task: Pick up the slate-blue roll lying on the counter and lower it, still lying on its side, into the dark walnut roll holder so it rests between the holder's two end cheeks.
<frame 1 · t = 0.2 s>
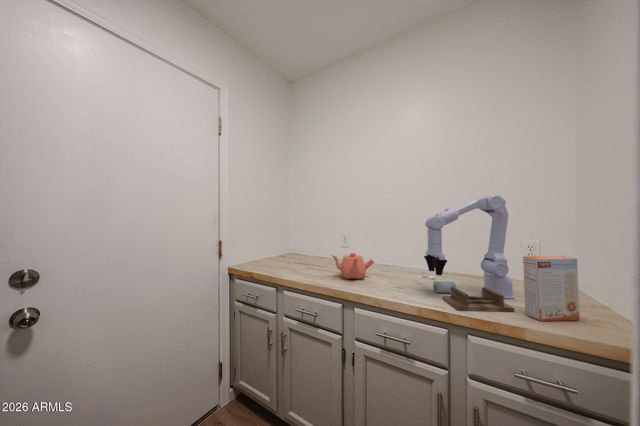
hand: (435, 273, 104), 9 cm above the worktop, tool pointing down, fingers open, 7 cm apart
roll: (444, 292, 106), on the worktop
cracker box: (551, 318, 79), on the worktop
teapot: (352, 277, 132), on the worktop
teacup and saucer: (426, 280, 128), on the worktop
roll holder: (475, 305, 90), on the worktop
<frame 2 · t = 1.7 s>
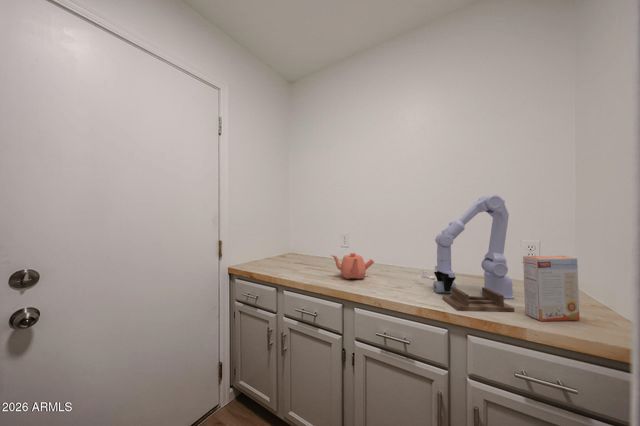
hand: (444, 289, 106), 1 cm above the worktop, tool pointing down, fingers closed on roll, 5 cm apart
roll: (444, 292, 106), on the worktop, touching gripper
everything else where it was.
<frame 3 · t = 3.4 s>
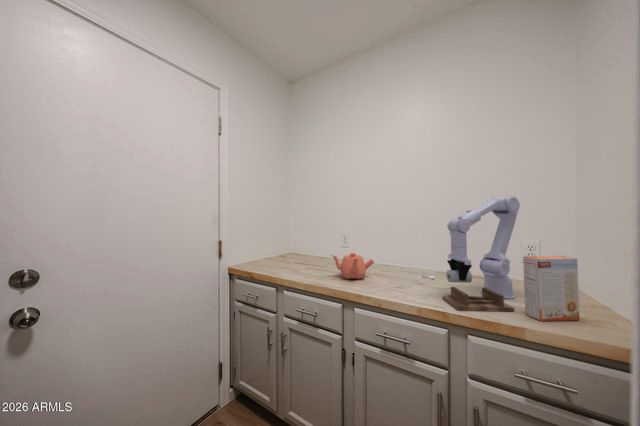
hand: (459, 278, 98), 8 cm above the worktop, tool pointing down, fingers closed on roll, 5 cm apart
roll: (458, 282, 98), point 7 cm above the worktop, touching gripper
everything else where it was.
when the fingers open (5 cm above the worktop, at t = 5.0 s): roll drops 2 cm, resting on roll holder.
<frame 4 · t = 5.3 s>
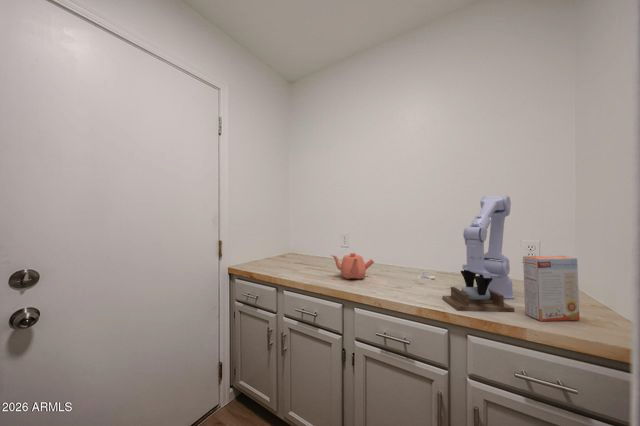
hand: (475, 291, 90), 5 cm above the worktop, tool pointing down, fingers open, 7 cm apart
roll: (475, 300, 90), point 2 cm above the worktop, touching roll holder
everything else where it was.
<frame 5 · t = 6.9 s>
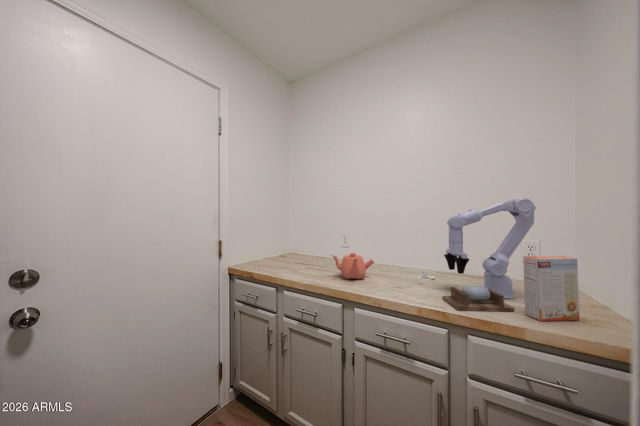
hand: (456, 271, 107), 9 cm above the worktop, tool pointing down, fingers open, 7 cm apart
nothing on the worktop moved.
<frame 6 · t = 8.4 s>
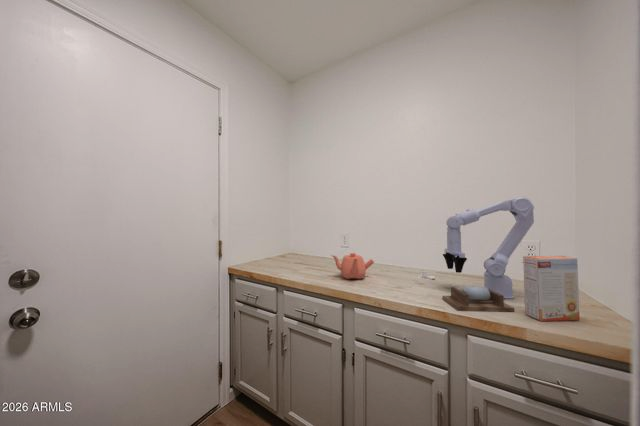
hand: (454, 270, 108), 9 cm above the worktop, tool pointing down, fingers open, 7 cm apart
nothing on the worktop moved.
at the end: roll 0.1 cm off-centre on the roll holder, point 2.0 cm above the roll holder's base; the gripper is holding nothing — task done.
